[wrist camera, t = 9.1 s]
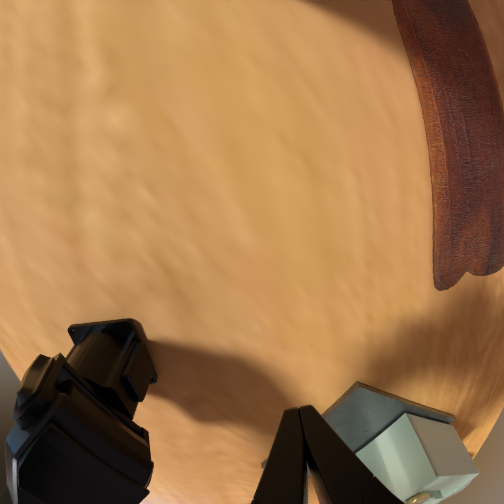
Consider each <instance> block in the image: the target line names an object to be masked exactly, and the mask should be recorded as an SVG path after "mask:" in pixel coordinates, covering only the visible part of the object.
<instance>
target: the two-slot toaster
mask: <svg viewBox="0 0 504 504" xmlns="http://www.w3.org/2000/svg"><path fill="white" fill-rule="evenodd" d="M356 456H357V457H358V458H359V459H360V460H361V461H362V462H363V463H364V464H365V465H366V467H367V468H368V469H369V470H370V471H371V472H372V473H373V474H374V476H376V477H377V478H378V479H379V480H380V481H381V482H382V483H383V484H384V485H385V486H386V487H387V488H388V489H389V490H390V491H391V492H392V493H393V494H394V495H395V496H396V497H398V498H399V499H400V500H401V501H403V502H404V503H406V502H407V501H408V500H410V499H411V498H410V497H411V496H413V495H414V494H416V493H417V492H421V493H424V492H429V495H430V498H429V499H428V500H427V501H425V502H424V503H422V504H437V503H439V502H440V501H442V500H444V499H445V498H447V497H448V496H449V495H451V494H452V493H454V492H455V491H457V490H458V489H459V488H461V487H462V486H464V485H465V484H466V483H468V482H469V481H470V480H472V479H473V478H474V477H475V476H476V475H478V474H479V471H478V469H477V467H476V465H475V463H474V462H473V460H472V458H471V456H470V454H469V453H468V451H467V449H466V447H465V446H464V444H463V442H462V440H461V439H460V437H459V435H458V433H457V432H456V430H455V428H454V427H453V425H449V424H445V423H441V422H437V421H433V420H429V419H425V418H422V417H418V416H415V415H411V414H408V413H405V414H404V415H402V416H401V417H400V418H399V419H398V420H397V421H396V422H395V423H393V424H392V425H391V426H390V427H389V428H388V429H386V430H385V431H384V432H383V433H382V434H380V435H379V436H378V437H377V438H375V439H374V440H373V441H372V442H370V443H369V444H368V445H367V446H365V447H364V448H363V449H361V450H360V451H359V452H357V453H356ZM374 476H373V477H374Z"/></svg>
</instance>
